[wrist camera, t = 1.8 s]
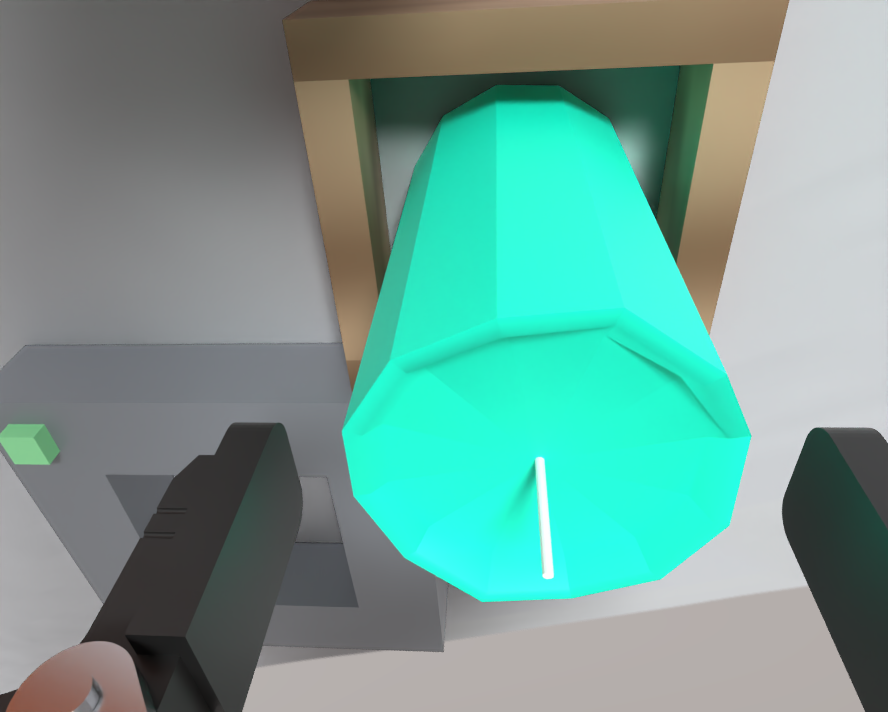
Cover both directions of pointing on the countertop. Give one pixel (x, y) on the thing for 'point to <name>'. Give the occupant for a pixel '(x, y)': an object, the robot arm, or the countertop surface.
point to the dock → (200, 433)
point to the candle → (539, 366)
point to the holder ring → (527, 50)
